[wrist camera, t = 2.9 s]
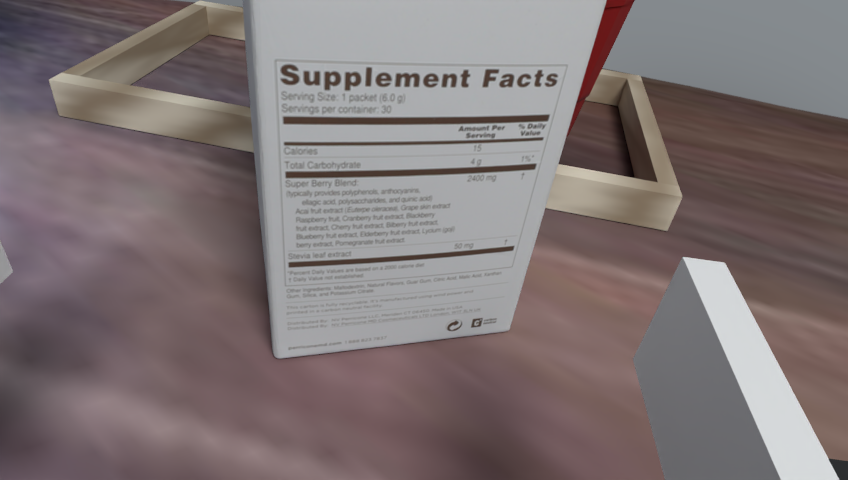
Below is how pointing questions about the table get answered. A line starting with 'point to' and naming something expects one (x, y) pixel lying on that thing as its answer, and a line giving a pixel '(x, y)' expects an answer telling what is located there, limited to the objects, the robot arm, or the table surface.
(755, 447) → the robot arm
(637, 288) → the table surface
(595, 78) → the plastic cup
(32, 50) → the table surface
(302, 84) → the supplement box
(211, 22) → the wooden frame
